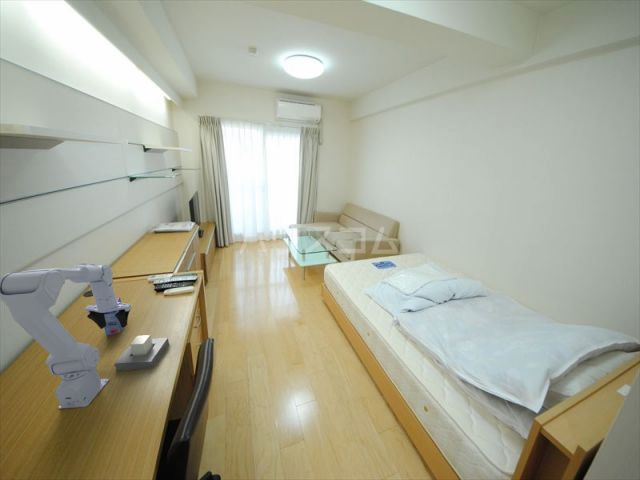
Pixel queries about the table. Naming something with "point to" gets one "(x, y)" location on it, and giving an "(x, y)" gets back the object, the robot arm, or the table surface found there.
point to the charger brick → (141, 345)
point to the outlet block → (142, 362)
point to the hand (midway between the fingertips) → (114, 326)
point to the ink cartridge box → (112, 322)
